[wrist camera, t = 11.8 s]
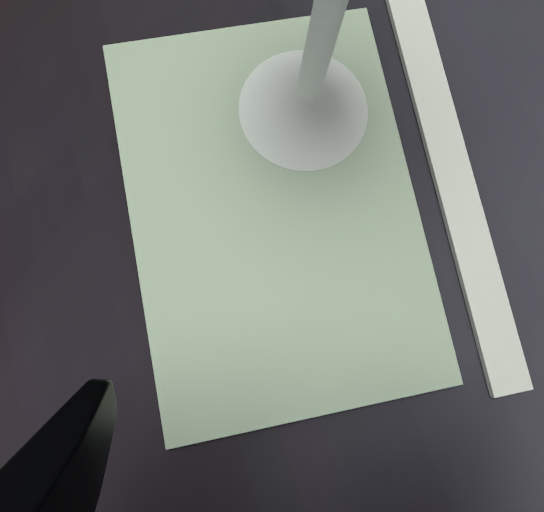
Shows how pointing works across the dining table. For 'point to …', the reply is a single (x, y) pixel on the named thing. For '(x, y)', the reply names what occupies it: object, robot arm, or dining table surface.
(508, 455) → the dining table surface
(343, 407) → the pale green flat slabs
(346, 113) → the champagne flute
